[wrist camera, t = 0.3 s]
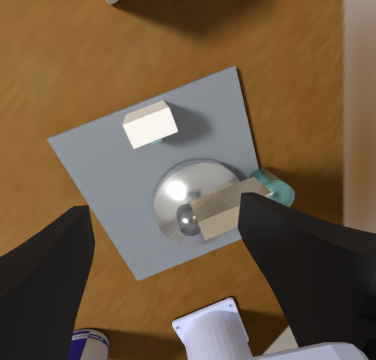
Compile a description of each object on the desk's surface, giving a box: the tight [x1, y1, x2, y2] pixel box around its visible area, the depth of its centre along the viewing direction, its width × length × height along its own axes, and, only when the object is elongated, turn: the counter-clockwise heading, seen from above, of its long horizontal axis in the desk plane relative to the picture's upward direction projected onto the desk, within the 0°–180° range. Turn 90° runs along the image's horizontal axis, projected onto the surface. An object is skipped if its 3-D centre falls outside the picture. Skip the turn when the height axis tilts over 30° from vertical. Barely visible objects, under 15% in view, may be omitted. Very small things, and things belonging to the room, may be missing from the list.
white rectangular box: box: [123, 100, 178, 149], centre depth 17 cm, size 2×3×4 cm, turn 109°
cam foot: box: [153, 158, 295, 245], centre depth 20 cm, size 11×8×4 cm
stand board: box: [47, 66, 259, 281], centre depth 22 cm, size 16×15×1 cm
